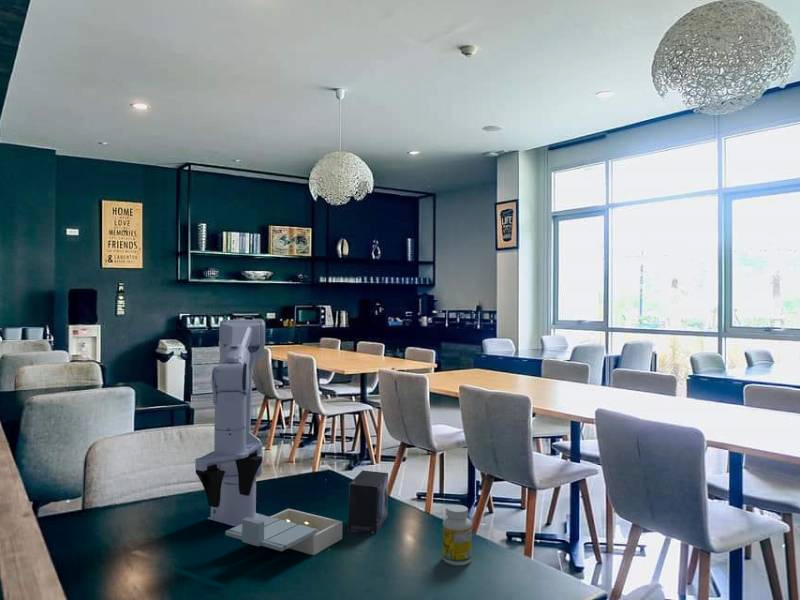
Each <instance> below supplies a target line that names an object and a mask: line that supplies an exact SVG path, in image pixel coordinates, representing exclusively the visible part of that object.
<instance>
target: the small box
mask: <svg viewBox="0 0 800 600" xmlns="http://www.w3.org/2000/svg"><path fill="white" fill-rule="evenodd" d="M351 480H352V481H350V483H349V484H348V515H347V516H348V517H347V518H348V519H347V520H348V521H347V523H348V524H347V532H348V533H358V534H371V535H377V534H378V532H379V531H380V529H381V528H382V526H383V524H385V522H386V520H387V518H388V499H389V497H388V495H389V489H388V488H389V473H388V472H380V471H373V470H361V471H360V472H359V473H358V474H357V476H355V477H354V478H353V479H351Z"/></svg>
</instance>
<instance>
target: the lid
mask: <svg viewBox="0 0 800 600" xmlns="http://www.w3.org/2000/svg"><path fill="white" fill-rule="evenodd" d="M224 533H225V536H227V537H231V538H234V539H238V540H241V542H243V543H246V544H249V545H252V546H256V547H260V546H262V547H266V548H268V549H272V550H275V551H278V552H284V551H285V550H287V549H290V548H289V547H291V546H293V545H295V544H297V543H299V542H301V541H303V540H305V539H306V538H308V537H310V536H312V535H314V534H316V533H317V529H315V528H311V527H307V526H303V525H298V524H296V523H292V522H288V521H284V520H280V519H276V518H272V517H270V516H267V515H265V514H262V516H261V515H260V517H257V518H255V519H253V518H249V517H247V518H245V519H242V524H241V525H239V526H238V525H235V526H233V527H232V528H229V529H227V530H225V532H224Z"/></svg>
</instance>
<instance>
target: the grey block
mask: <svg viewBox="0 0 800 600" xmlns="http://www.w3.org/2000/svg"><path fill="white" fill-rule="evenodd" d="M269 517H272V518H276V519H280V520H281V519H284V518H287V519H289V520H291V522H292V523H296V524H298V523H299V522H300V521H307V522H309V523H310V525H311V527H312V528H316V529H318V530H319V531H320V532H318V533H316V534H314V535H312V536H310V537H308V538H306V539H305V540H303V541H301V542H299V543H297V544H295V545H293V546H291V547H289V548H288V549H289V550H294V551H297V552H301V553H304V554H307V555H311V556H314V555H315V556H316V555H317V554H318V553H320V552H322V551H323V550H325V549H327V548H329V547H330V546H332V545H334V544H336V543H339V542H340V541H341V540H343V521H342V520H338V519H333V518H329V517H325V516H321V515H316V514H313V513H309V512H304V511H301V510H296V509H291V508H286V509H284V510H282V511H280V512H278V513H276V514H273V515H270V516H269Z"/></svg>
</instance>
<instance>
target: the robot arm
mask: <svg viewBox="0 0 800 600" xmlns="http://www.w3.org/2000/svg"><path fill="white" fill-rule="evenodd" d="M218 329H219V331H218V332H219V333H218V337H219V338H218V339H219V344H220V351H221V353H220V358H219V361H218V364H217V366H213V367H212V370H211V390H212V402H213V405H214V430H213V431H214V437H213V439H214V441H213V443H214V448H213V449H214V450H212V451H211V452H209V453H207V454H205V455H203V456H201V457H198V458H195V462H194V463H195V474H196V475H197V477H198V479H199V480H200V482H201V485H202V487H203V490H204V492H205V496H206V499H207V505H208V507H210V516H209V517H207V520H212V521H215V522H219V523H222V524H226V525H229V526H232V527H236V526H239V525H241V524H242V519H245V518H247V517H249V518H253V519H255V518H257V517H260V516H262V515H263V514H262V513H257V511H256V510H257V508H256V506H257V499H256V498H257V478H259V477H260V476H261V475H262V474H263V465H264V464H263V462H264V461H263V459H264V457H263V455H264V453H263V451H264V450H263V442H262V441H261V439H260V438H259V437H257V436H256V435H254V434H253V432H251V424H252V423H251V421H252V397H253V396H252V395H253V392H252V391H253V373H254V367H255V364H256V362H257V361H258V360H260V359H262V358H264V353H265V344H266V343H265V342H266V322H265V320H264V319H262V318H261V319H226V318H224V319H223V318H222V320H221V321H220V323H219V328H218Z"/></svg>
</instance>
